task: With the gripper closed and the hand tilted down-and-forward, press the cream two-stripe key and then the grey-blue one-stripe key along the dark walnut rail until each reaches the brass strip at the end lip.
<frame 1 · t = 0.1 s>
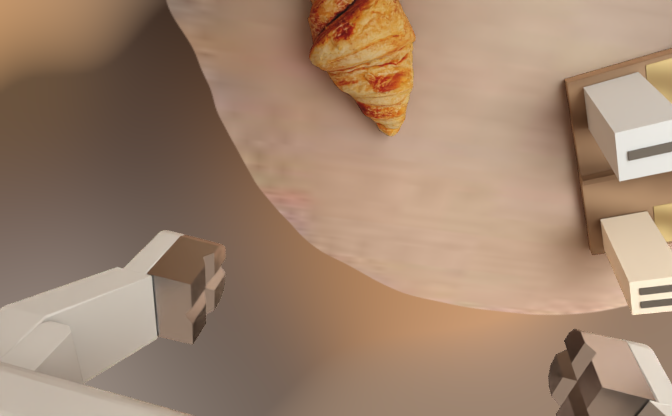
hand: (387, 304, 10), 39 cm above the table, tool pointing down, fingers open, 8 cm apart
croissant: (363, 35, 45), on the table
rail board: (642, 159, 46), on the table
key two: (641, 261, 46), point 6 cm above the table, slide at 0.0 cm
key one: (630, 123, 38), point 6 cm above the table, slide at 0.0 cm
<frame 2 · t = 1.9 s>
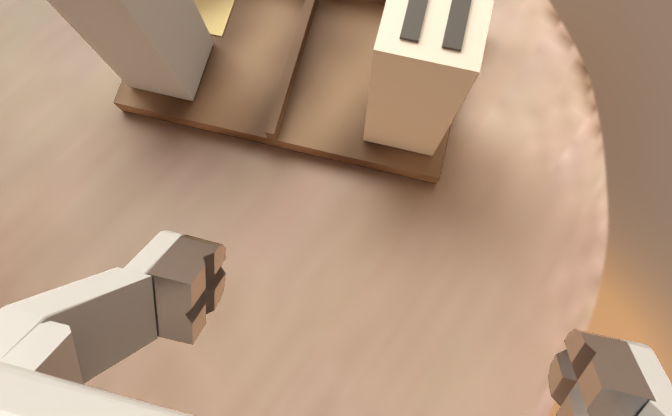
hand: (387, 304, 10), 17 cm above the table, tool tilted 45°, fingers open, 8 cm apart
rail board: (298, 68, 31), on the table
key two: (418, 74, 24), point 6 cm above the table, slide at 0.0 cm
key one: (138, 13, 25), point 6 cm above the table, slide at 0.0 cm
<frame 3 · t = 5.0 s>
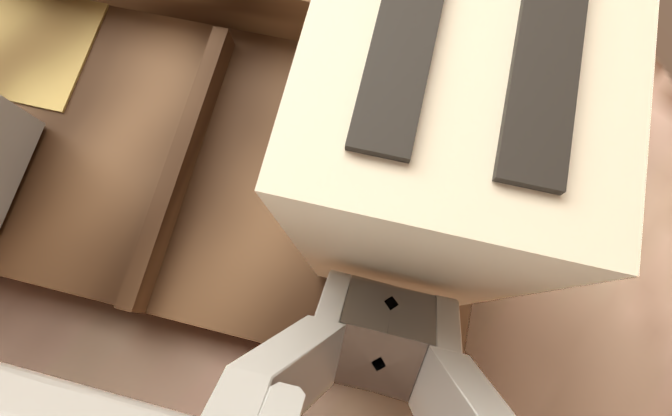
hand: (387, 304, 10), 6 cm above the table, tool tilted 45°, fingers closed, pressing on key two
rail board: (202, 162, 18), on the table
key two: (417, 179, 10), point 6 cm above the table, slide at 1.3 cm, touching gripper
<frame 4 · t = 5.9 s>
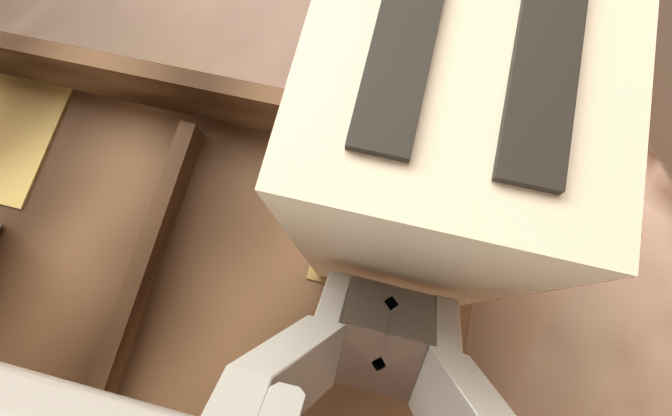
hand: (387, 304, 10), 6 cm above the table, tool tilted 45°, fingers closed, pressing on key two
rail board: (169, 258, 17), on the table
key two: (417, 179, 10), point 6 cm above the table, slide at 5.3 cm, touching gripper
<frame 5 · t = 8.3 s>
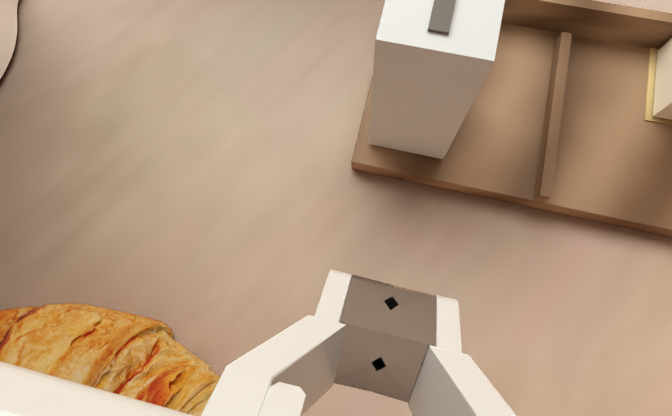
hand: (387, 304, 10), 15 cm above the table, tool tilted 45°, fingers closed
croissant: (110, 400, 25), on the table
rail board: (542, 117, 28), on the table
key one: (425, 69, 22), point 6 cm above the table, slide at 0.0 cm
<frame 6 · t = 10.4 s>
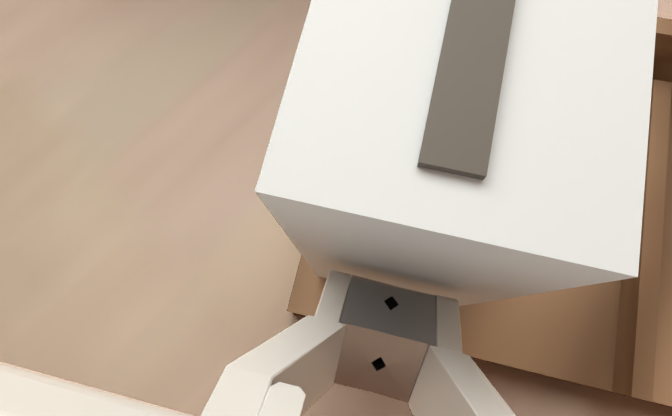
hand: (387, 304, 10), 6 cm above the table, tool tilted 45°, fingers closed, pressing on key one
rail board: (615, 221, 17), on the table
key one: (417, 180, 10), point 6 cm above the table, slide at 0.1 cm, touching gripper
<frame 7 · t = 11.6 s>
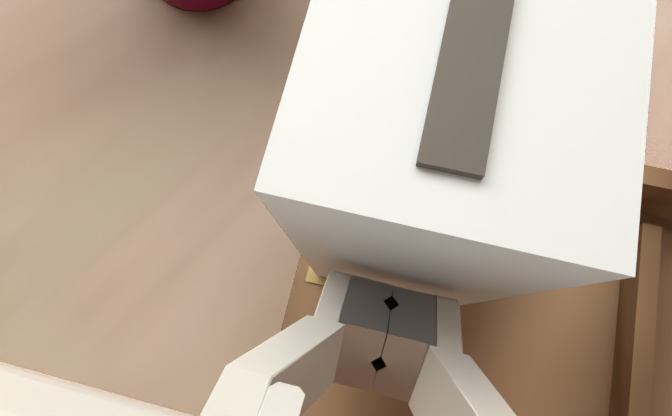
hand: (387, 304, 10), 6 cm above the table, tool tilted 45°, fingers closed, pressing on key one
rail board: (601, 367, 15), on the table
key one: (416, 179, 11), point 6 cm above the table, slide at 5.4 cm, touching gripper
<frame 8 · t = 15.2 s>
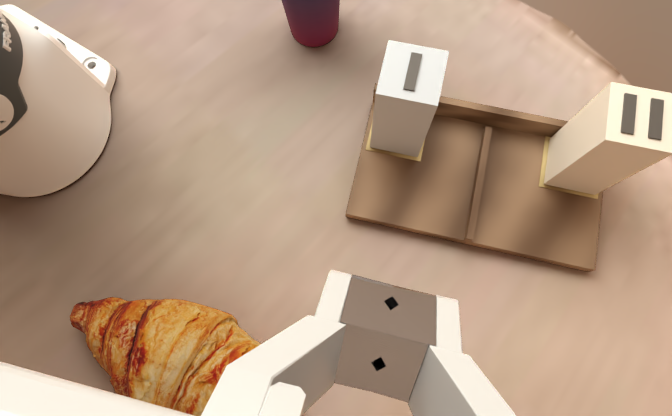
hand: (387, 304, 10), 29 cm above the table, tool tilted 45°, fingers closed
cup: (314, 27, 47), on the table
croissant: (194, 363, 39), on the table
rail board: (474, 182, 42), on the table
key two: (602, 143, 35), point 6 cm above the table, slide at 5.4 cm
key one: (404, 103, 37), point 6 cm above the table, slide at 5.4 cm
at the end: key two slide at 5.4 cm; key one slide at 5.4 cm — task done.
